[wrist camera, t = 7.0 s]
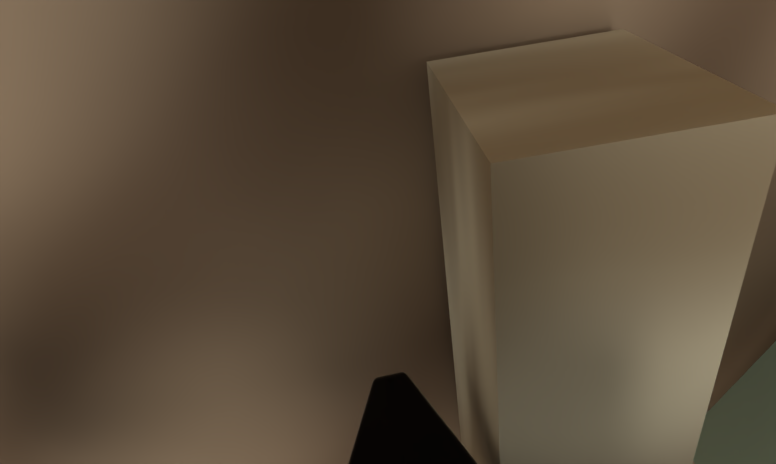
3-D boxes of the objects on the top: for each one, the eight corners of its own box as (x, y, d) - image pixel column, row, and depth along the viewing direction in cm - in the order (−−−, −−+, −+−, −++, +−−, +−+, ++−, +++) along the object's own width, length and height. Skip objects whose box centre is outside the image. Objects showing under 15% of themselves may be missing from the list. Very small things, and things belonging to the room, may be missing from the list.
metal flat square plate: (1053, 130, 13) (1135, 157, 11) (569, 599, 22) (585, 642, 21) (-86, -480, 6) (-185, -569, 5) (-72, 550, 16) (-104, 608, 15)
